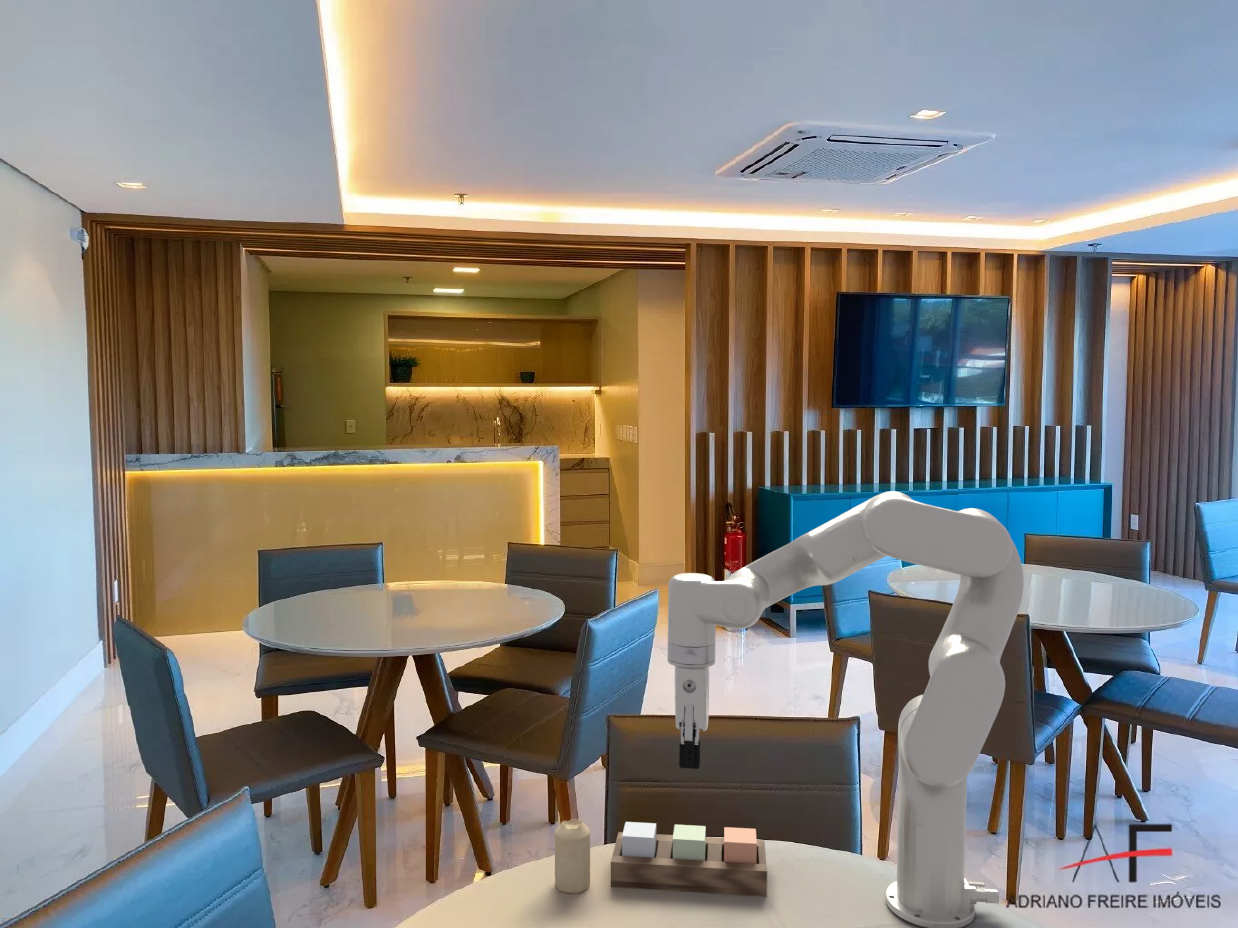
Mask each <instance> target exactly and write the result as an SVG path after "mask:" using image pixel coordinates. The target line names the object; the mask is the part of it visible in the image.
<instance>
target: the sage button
mask: <svg viewBox="0 0 1238 928" xmlns="http://www.w3.org/2000/svg"><path fill="white" fill-rule="evenodd" d="M706 831H707V828H706V825H691V824H687V825H686V824H674V826H673V834H672V835H673V859H684V860H701V861H705V854H706V837H707V836H706V835H707V834H706Z"/></svg>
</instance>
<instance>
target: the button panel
mask: <svg viewBox="0 0 1238 928" xmlns="http://www.w3.org/2000/svg"><path fill="white" fill-rule="evenodd" d="M622 834H623V831H618V833H617V837H616V841H615V844H614V846H613V847H614V848H613V852H612V854H611V855H612V856H611V859H610V887H611V888H622V889H623V888H624V889H638V890H639V889H640V890H655V891H670V892H684V893H685V892H687V893H704V894H719V895H733V896H751V897H763V898H765V897H766V898H767V897H768V891H767V890H768V871H767V870H768V867H767V854H766V841H765V840H764V839H756V841H757V864H752V863H735V862H724V837H712V836H706V854H705V861H701V860H684V859H673V834H657V833H656V855H655V858H650V857H633V856H622Z"/></svg>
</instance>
